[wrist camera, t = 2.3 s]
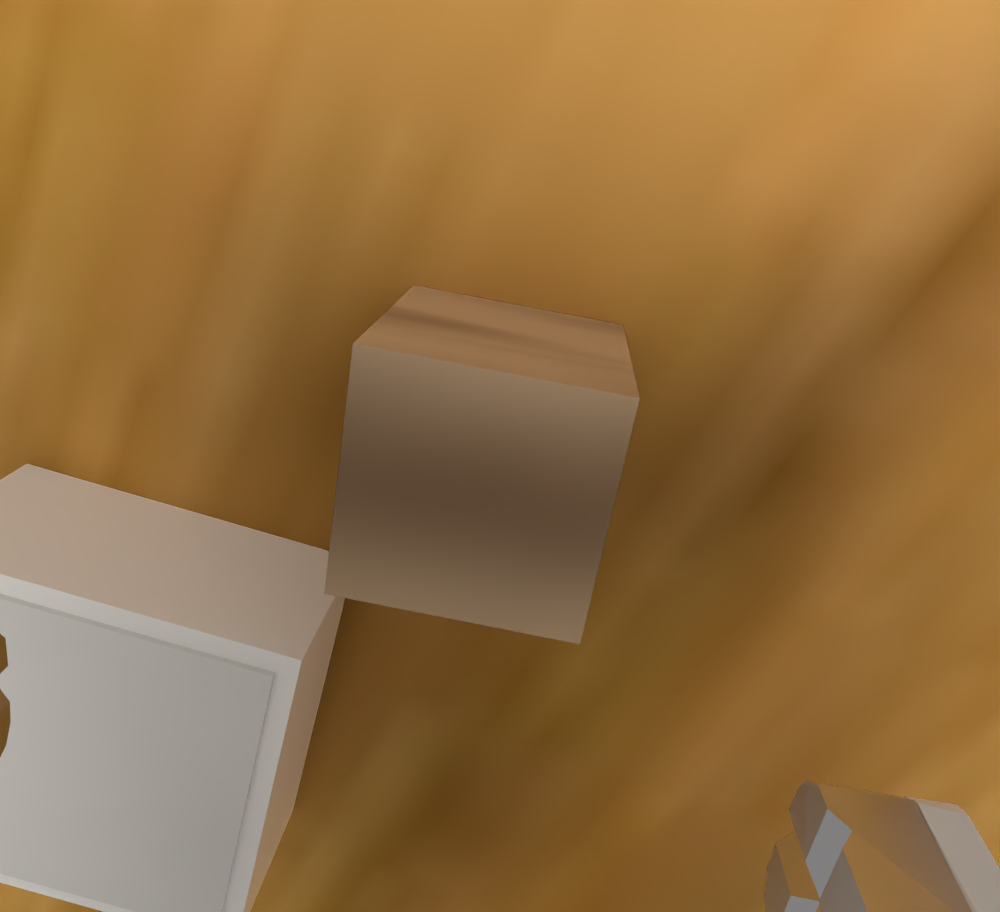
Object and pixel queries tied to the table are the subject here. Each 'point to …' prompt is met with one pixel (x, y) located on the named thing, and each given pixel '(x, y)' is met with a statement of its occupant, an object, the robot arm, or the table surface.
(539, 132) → the table surface
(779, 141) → the table surface
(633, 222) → the table surface
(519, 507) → the oak block
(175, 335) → the table surface
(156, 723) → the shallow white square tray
